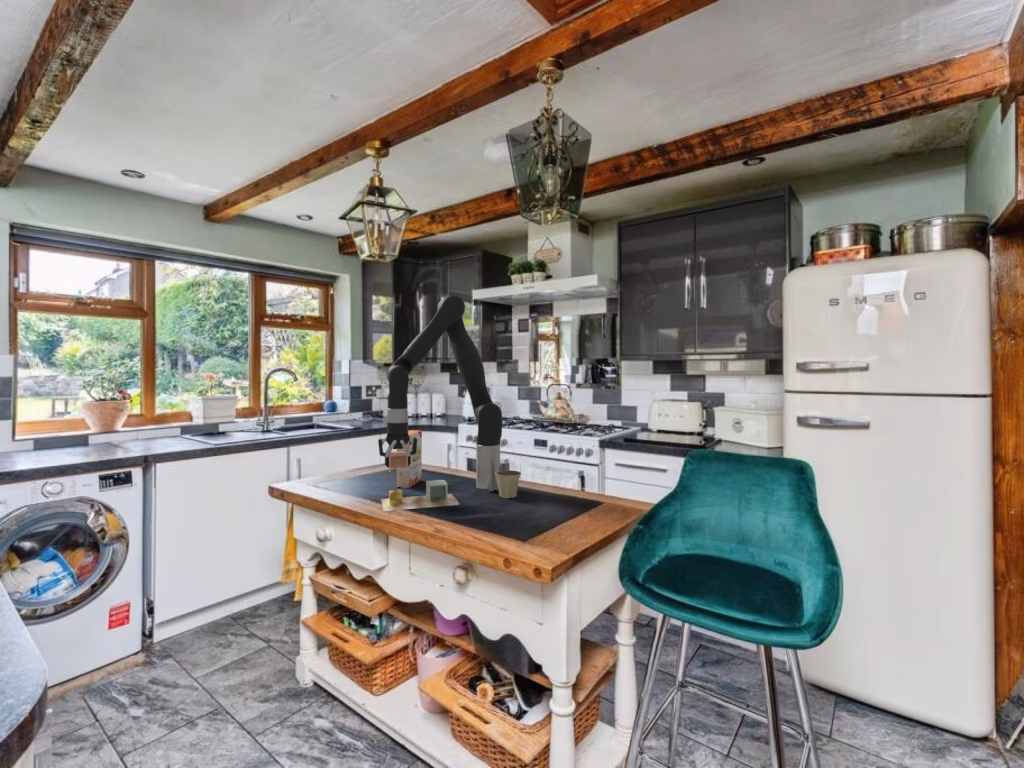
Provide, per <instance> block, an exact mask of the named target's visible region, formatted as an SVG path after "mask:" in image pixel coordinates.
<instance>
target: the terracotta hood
mask: <svg viewBox="0 0 1024 768" xmlns="http://www.w3.org/2000/svg"><path fill="white" fill-rule="evenodd" d="M397 468H405V469H406V471H408V454H407V453H406V452H405V451H397V450H396V451H391V452H390V454H389V468H387V469H388V471H389V473H391V471H392V469H397Z"/></svg>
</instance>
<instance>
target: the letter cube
mask: <svg viewBox="0 0 1024 768" xmlns="http://www.w3.org/2000/svg"><path fill="white" fill-rule="evenodd" d="M402 497H403V491H402V489H392V490H388V498H389V503H390V505H398V504H402Z"/></svg>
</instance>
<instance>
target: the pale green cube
mask: <svg viewBox="0 0 1024 768" xmlns="http://www.w3.org/2000/svg"><path fill="white" fill-rule="evenodd" d="M448 489H449V488H448V483H447V481H446V480H445V479H436V480H425V493H426V494H425V496H426V498H427V500H428V502H429V503H430V498H437V497H444V499H445V500H446V501H448V494H449V493H448V491H449V490H448Z"/></svg>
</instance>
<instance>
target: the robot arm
mask: <svg viewBox="0 0 1024 768" xmlns="http://www.w3.org/2000/svg"><path fill="white" fill-rule="evenodd" d="M436 310H437V312H436V313H435V315H434V317H433V318H432V319H431V320H430V322H429V323H428V324H427V325H426V327H424V329H422V330H421V332H419V333H418V335H416V336H415V338H414V339H412V341H411V342H410V343H409V345H408V346H407V347H406V348H405V350H404V351H403V353H402V354H401V355H400V356H399V357H398V358H397V359H396V360H395V361H394V362H393V363H392V364H391V365H390V367H389V368H388V370H387V371H386V379H387V381H388V388H389V389H388V390H389V391H388V394H387V411H386V412H387V413H386V437H385V438H378V439H377V443H378V452H379V455H380V457H384V466H385V467H386V468H387V469H388V468H389V454H390V452H393V450H397V449H403V448H404V450H405V452H406V453H407V454H408V467H409V465H410V464H411V455H413V454H416V447H417V438H416V437H414V438H410V437H409V435H408V431H409V411H408V410H409V409H408V407H409V406H408V404H409V403H408V392H409V381H410V377H409V375H410V373H411V372H412V371H413V370H414V368H416V367H417V366H419V365H420V364H421V362H422V361H423V360H424V358H425V357H427V355H428V354H429V352H430V351H431V350H432V349H433V347H434V346H435V345H436V343H437V342H438V341H439V339H440V338H441V337H442V336H443V334H444V333H446V334H447V336H448V339H449V343H450V347H451V350H452V353H453V356H454V360H455V363H456V365H457V369H458V370H459V373H460V374H459V375H460V376H461V379H462V380H463V383H464V385H465V388H466V390H467V392H468V394H469V398H470V402H471V406H472V410H473V415H474V418H475V420H476V421H477V423H478V424H477V436H476V438H475V439H476V441H475V444H476V445H475V447H476V449H475V450H476V453H475V454H476V455H475V456H476V458H475V463H476V466H475V467H476V469H475V471H476V473H475V476H476V479H475V480H476V481H475V485H476V488H477V489H480V490H486V491H487V492H495V491H494V490H496V491H499V488H498V480H497V477H496V474H495V473H496V472H498V471H503V464H501V440H502V435H503V412H502V409H501V407H500V406H499V405H498V404H496V403H493V400H492V398H491V395H490V394H489V391H488V388H487V383H486V382H487V381H486V373H485V368H484V364H483V361H482V357H481V354H480V352H479V350H478V348H477V347H476V345H475V343H474V341H473V340H472V338H471V336H470V335H469V333H468V331H467V329H466V326H465V323H464V319H463V315H465V312H466V305H465V301H464V300H463V298H461V297H460V296H458V295H448V296H446V297H444V298H443V299H441V300H440V301H439V302H438V304H437V309H436ZM409 440H410V441H411V443H412V451H410V452H409V450H408V448H407V446H406V444H407V443H408V442H409ZM385 442H386V443H387V444H388V446H387V448H386V451H385V452H384V448H383V446H384V445H385Z"/></svg>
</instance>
